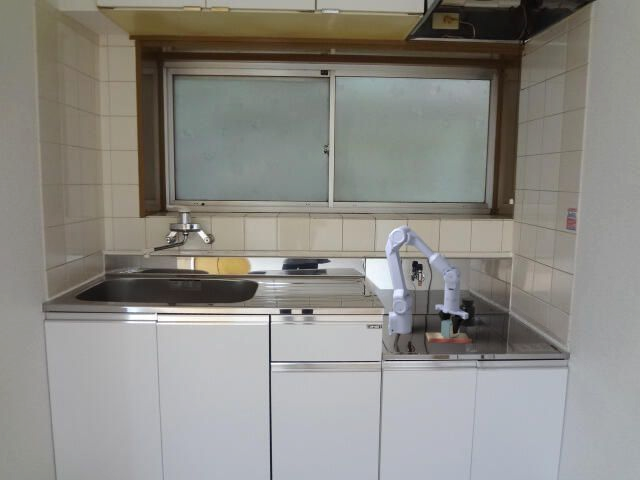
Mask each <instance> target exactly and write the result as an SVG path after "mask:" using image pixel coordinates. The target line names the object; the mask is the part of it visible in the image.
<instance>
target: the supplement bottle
mask: <svg viewBox="0 0 640 480" xmlns="http://www.w3.org/2000/svg"><path fill="white" fill-rule="evenodd" d="M474 302H475V301H474V298H471V297H462V298H461V303H460V304H459V309H460V310H462V311H464V312H466V313H468V318H467V319H464V320H463V321H462V323H461V325H460V327H461V326H462V327H469V328H471V327H474V326H475V325H476V316H477V315H476V314H477V307H476V306H475V305H474V304H475V303H474Z"/></svg>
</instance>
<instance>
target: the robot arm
mask: <svg viewBox="0 0 640 480" xmlns="http://www.w3.org/2000/svg"><path fill="white" fill-rule="evenodd" d="M403 245H405V246H411V247H414V248H416V249H417V250H418V251H419V252H420V253H421V254H423V255H424V256H425V257H426V258H427V259H428V260H429V261H428V262H429V265H431V267H432V268H433V269H434V270H435V271H437V272H438V273H439V274H440V275H441V276H442V277H443V281H444V283H445V284H444V295H443V297H444V298H443V304H441V303H438V304H437V303H436V304H435V305H434V306H435V307H434V308H435V310H437V311H439V312H438V313H437V315H438V317H439V319H440V321H441V322H442V321H444V320H447V319H450V318H451V320H452V324H453V334H456V333H458V330H459V327H460V328H461V323H462V321H463V320H464V319H467V318H468V313H466V312H464V311H462V310H460V309H459V306H460V297H461V286H460V285H461V283H460V282H461V281H460V279H461V278H462V271H461V269H460V268H459V267H458V266H456V265H455V264H454V263H451V262H450V261H449V260H448V259H447V258H446V255H445V254H444V253H443V254H441V253H438V252H435V251H434V250H432V248H431V247H430V246H428V244H427V243H426V242H425V241H424V240H423V239H422V238H421V237H420V236H419V235H418V234H417V232H415V230H414V229H413V230H412V229H411V227H410V226H408V225H401V226H399V227H396V228H395V229H393V230H392V231H391V232H390V234H388V239H387V242H386V245H385V247H384V249H385V256H386V260H387V264H388V269H389V273H390V277H391V282H392V287H393V295H392V300H393V301H392V302H393V303H392V309H393V311H389V312H388V326H387V330H388V333H389V336H392V334H400V335H401V334H403V335H406V334H410V333H412V323H413V322H412V319H413V317H412V315H413V310H412V308H411V307H413V304H414V298H413V296H412V295H411V294H410V290H409V289H408V288H407V285H406V279H405V274H404V270H403V265H402V260H401V256H400V249H401V247H402V246H403Z"/></svg>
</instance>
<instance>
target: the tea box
mask: <svg viewBox="0 0 640 480" xmlns="http://www.w3.org/2000/svg"><path fill="white" fill-rule="evenodd" d="M460 328H461V326H460V327H459V330H458V333H456V334H453V324H452V320H451V317H450V319H447V320H444V321H441V330H440V333H441V336H443V337H446V338H453V337H456V336H459V333H461V330H460Z"/></svg>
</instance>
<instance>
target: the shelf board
mask: <svg viewBox="0 0 640 480" xmlns="http://www.w3.org/2000/svg"><path fill="white" fill-rule="evenodd" d="M425 336H426V338H427V340H428V343H436V344H437V343H446V344H447V343H448V344H454V343H455V344H472V343H473V339H472V338H469V336H468V335H467V333H466V332H460V333H459V336H456V337H453V338H446V337H443V336H441V332H425Z"/></svg>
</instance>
